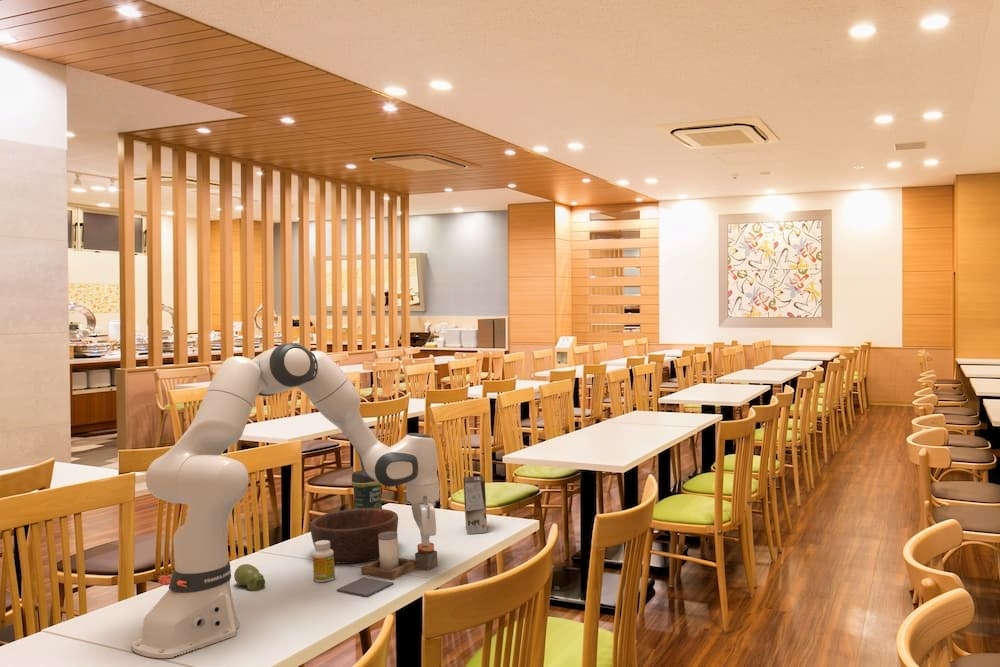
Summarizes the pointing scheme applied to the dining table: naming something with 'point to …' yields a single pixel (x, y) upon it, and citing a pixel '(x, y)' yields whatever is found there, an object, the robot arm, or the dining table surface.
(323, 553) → the supplement bottle
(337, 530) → the wooden bowl
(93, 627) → the dining table surface
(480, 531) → the coffee box
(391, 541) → the cylinder
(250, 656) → the dining table surface
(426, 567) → the square wooden frame
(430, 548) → the plunger
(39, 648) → the dining table surface
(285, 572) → the dining table surface
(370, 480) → the coffee jar
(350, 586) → the pad
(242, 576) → the pear
